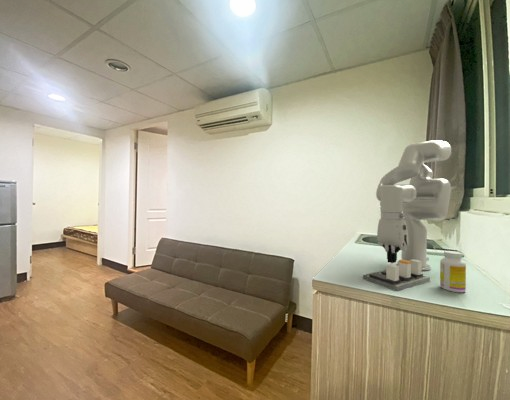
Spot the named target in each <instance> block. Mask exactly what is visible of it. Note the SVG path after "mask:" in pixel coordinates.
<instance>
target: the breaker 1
mask: <svg viewBox="0 0 510 400" xmlns="http://www.w3.org/2000/svg"><path fill="white" fill-rule="evenodd" d="M385 268H386V269H385V270H386V279H389V280H393V281H398V280H399V265H398V264H394V263H388V264H386V267H385Z"/></svg>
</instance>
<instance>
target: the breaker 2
mask: <svg viewBox="0 0 510 400" xmlns="http://www.w3.org/2000/svg"><path fill="white" fill-rule="evenodd" d="M410 261H411V273H412V274H416V275H420V274H423V273H422V271H423V270H422V261H419V260H414V259H412V260H410Z"/></svg>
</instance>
